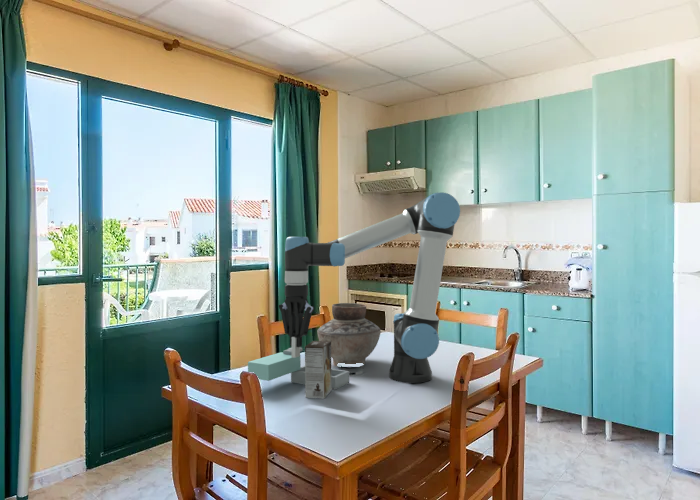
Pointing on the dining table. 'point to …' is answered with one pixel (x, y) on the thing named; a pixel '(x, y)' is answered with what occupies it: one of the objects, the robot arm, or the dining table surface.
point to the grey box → (337, 377)
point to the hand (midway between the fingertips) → (295, 356)
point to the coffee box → (318, 369)
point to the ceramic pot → (349, 334)
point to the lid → (275, 365)
